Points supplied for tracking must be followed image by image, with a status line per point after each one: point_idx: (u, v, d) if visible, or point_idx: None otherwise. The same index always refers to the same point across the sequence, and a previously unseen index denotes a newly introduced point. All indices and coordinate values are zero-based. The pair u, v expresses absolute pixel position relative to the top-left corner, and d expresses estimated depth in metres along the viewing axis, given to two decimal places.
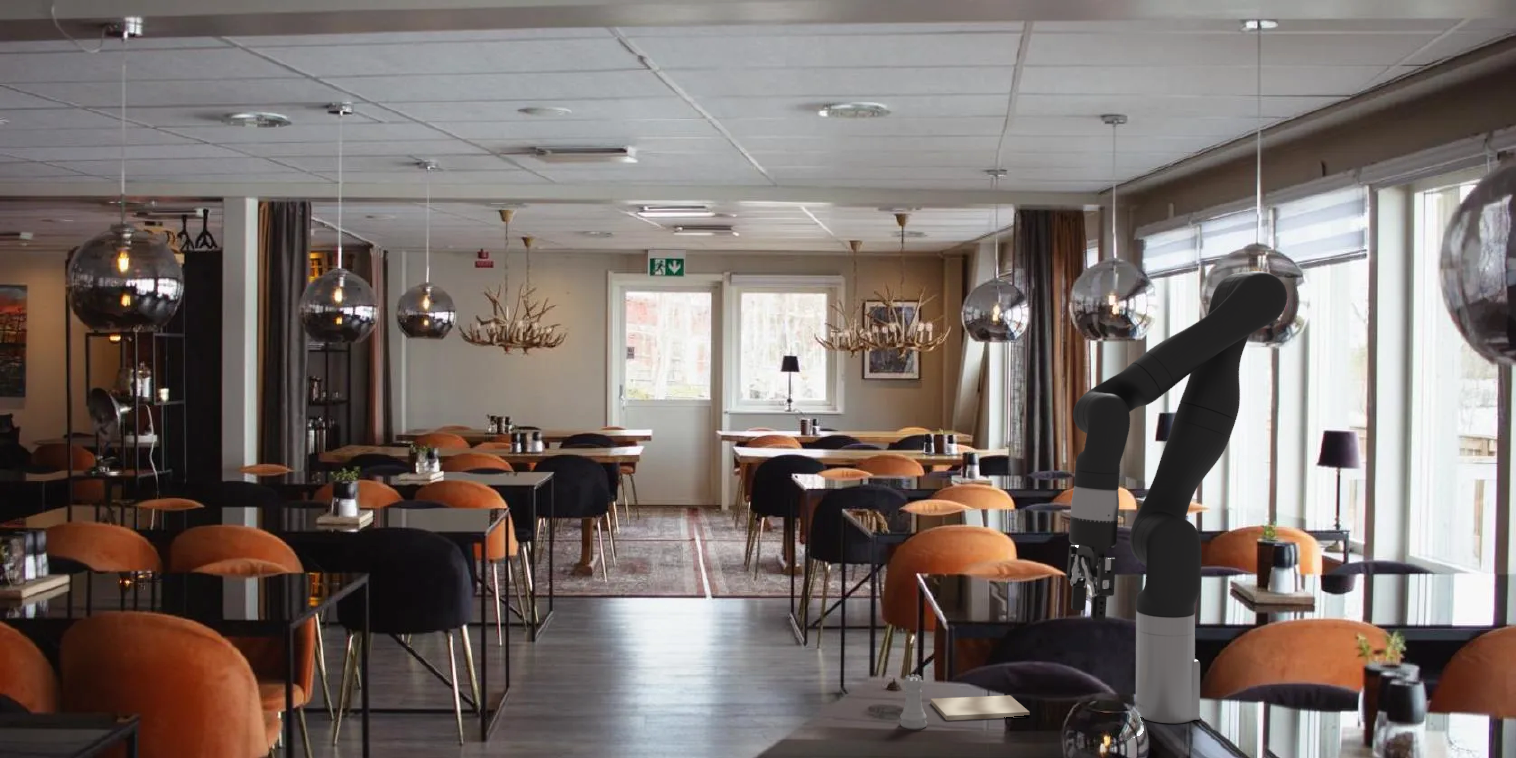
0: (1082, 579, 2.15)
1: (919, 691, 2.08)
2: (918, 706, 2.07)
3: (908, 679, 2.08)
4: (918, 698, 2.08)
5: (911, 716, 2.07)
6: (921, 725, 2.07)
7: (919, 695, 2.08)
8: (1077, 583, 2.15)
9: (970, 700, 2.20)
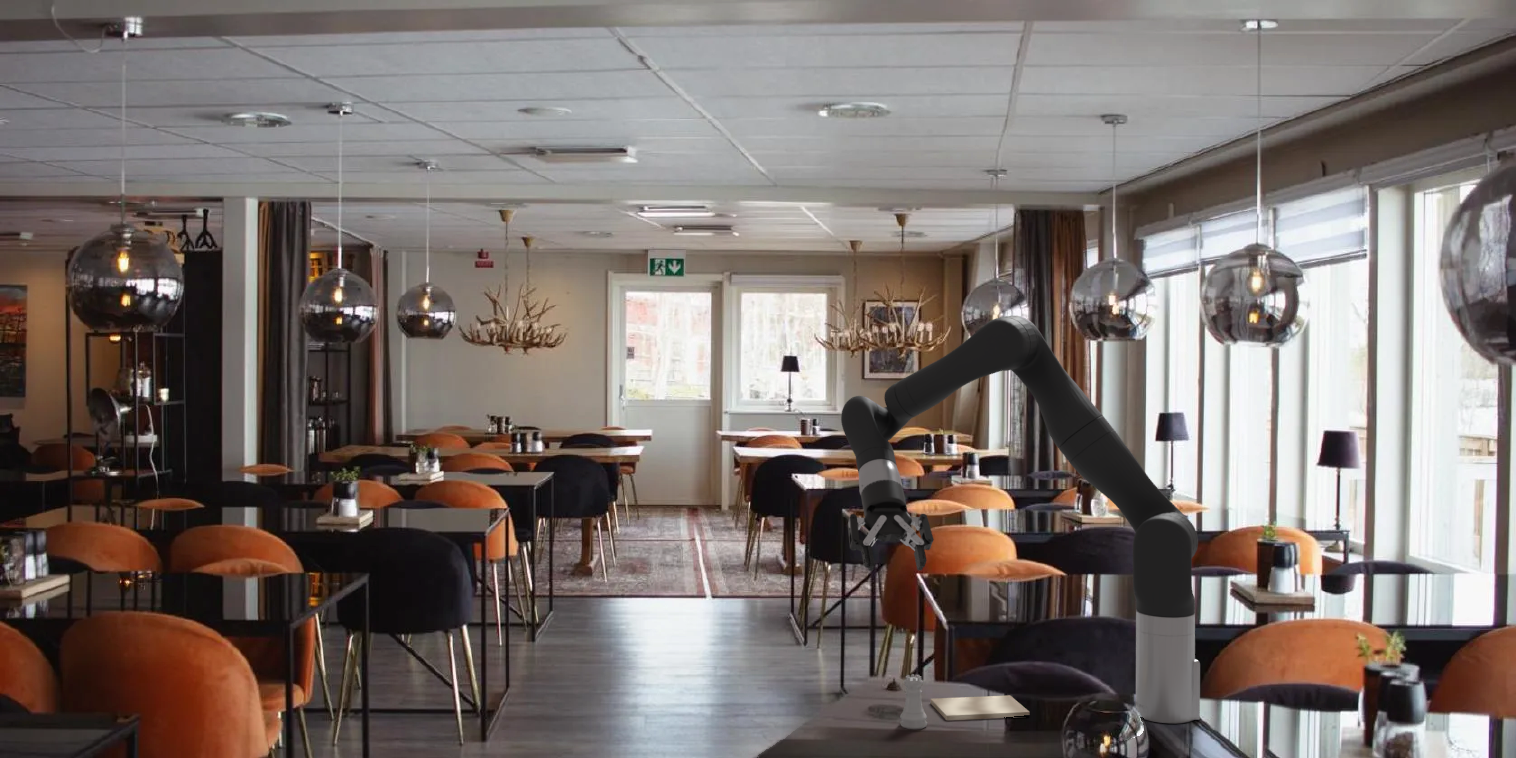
0: None
1: (919, 691, 2.08)
2: (918, 706, 2.07)
3: (908, 679, 2.08)
4: (918, 698, 2.08)
5: (911, 716, 2.07)
6: (921, 725, 2.07)
7: (919, 695, 2.08)
8: (915, 547, 2.23)
9: (970, 700, 2.20)
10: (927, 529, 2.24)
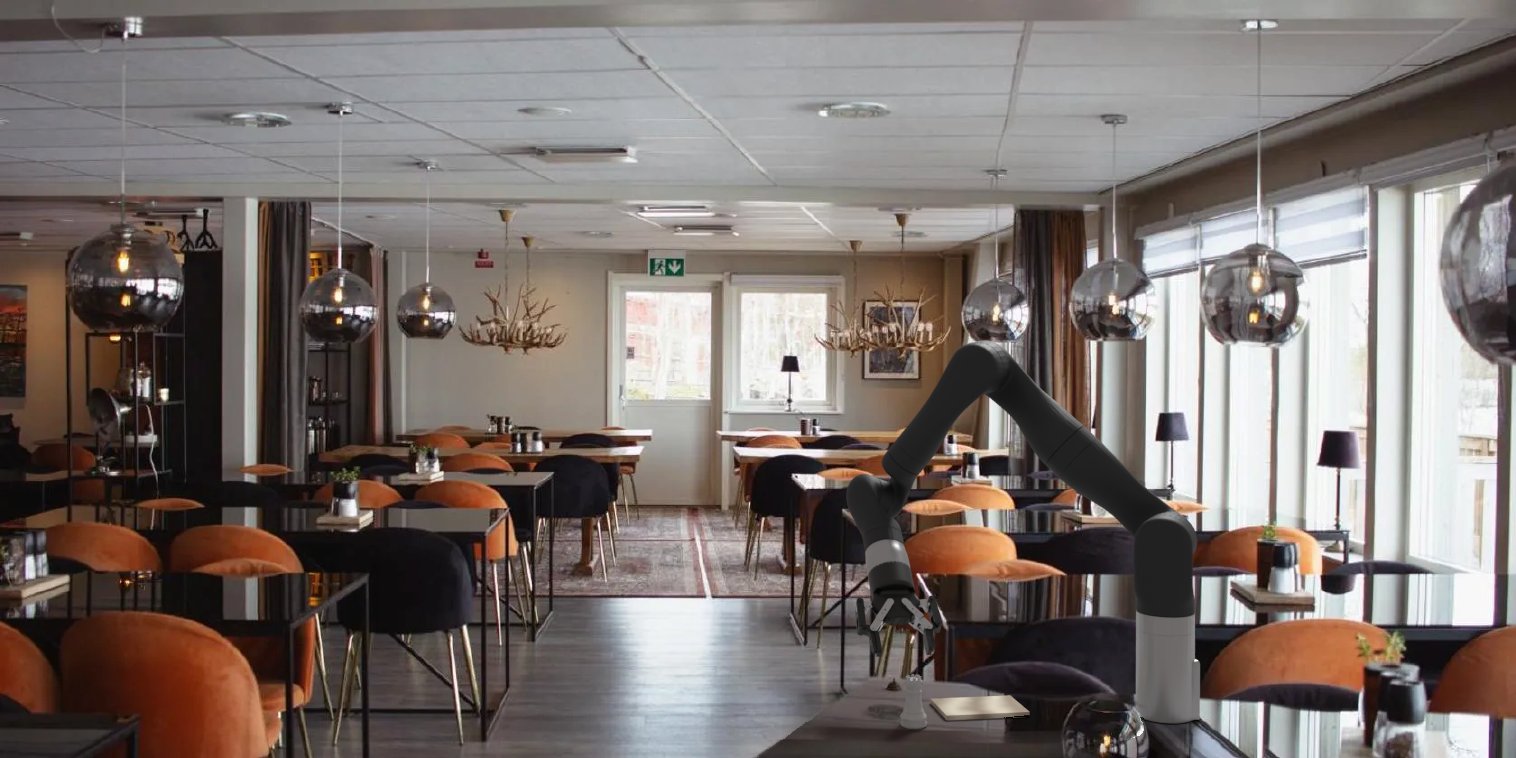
0: None
1: (919, 691, 2.08)
2: (918, 706, 2.07)
3: (908, 679, 2.08)
4: (918, 698, 2.08)
5: (911, 716, 2.07)
6: (921, 725, 2.07)
7: (919, 695, 2.08)
8: (923, 631, 2.18)
9: (970, 700, 2.20)
10: (936, 612, 2.19)
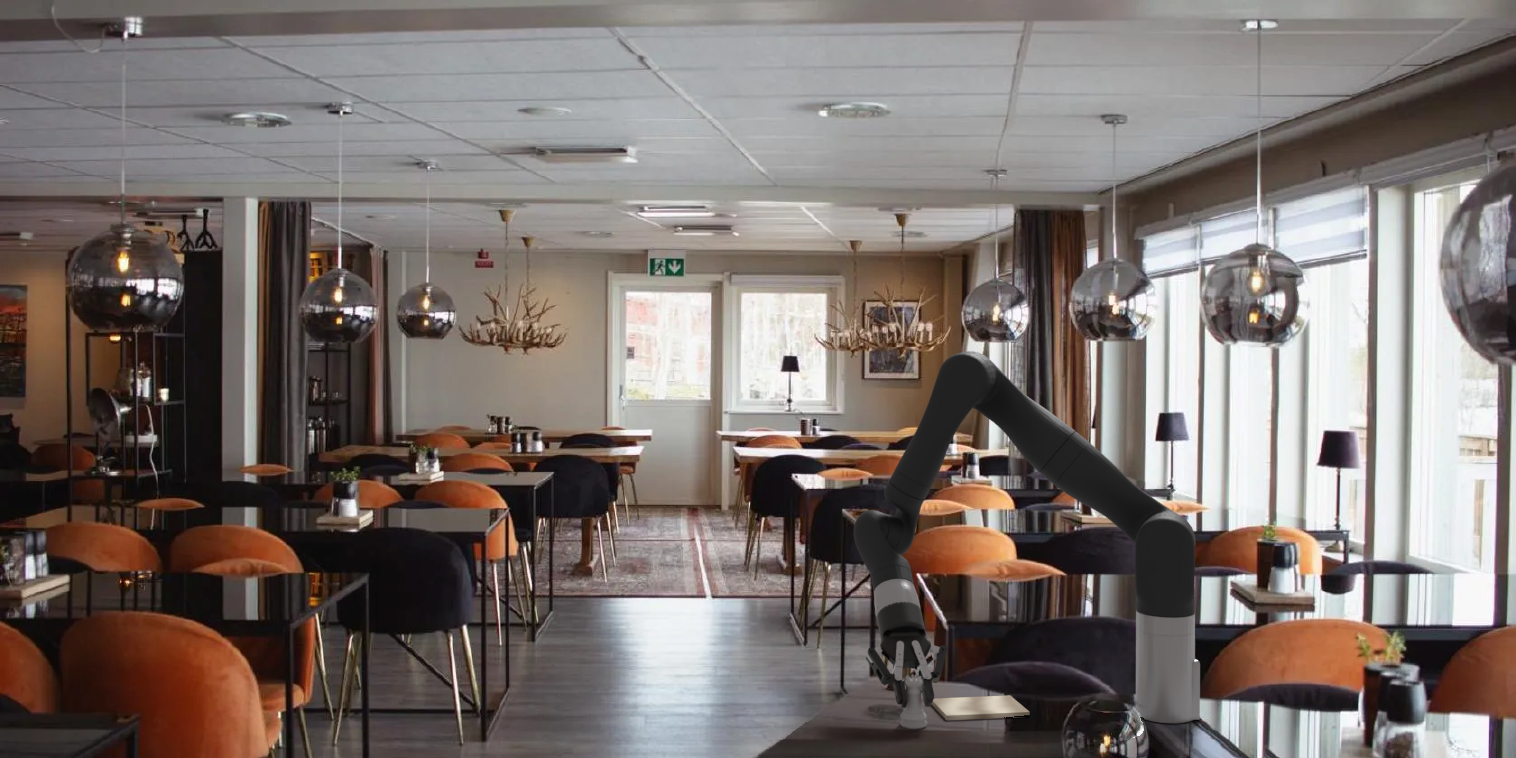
0: None
1: (919, 691, 2.08)
2: (918, 705, 2.07)
3: (908, 679, 2.08)
4: (918, 698, 2.08)
5: (911, 716, 2.07)
6: (921, 725, 2.07)
7: (919, 695, 2.08)
8: None
9: (970, 700, 2.20)
10: (940, 662, 2.11)
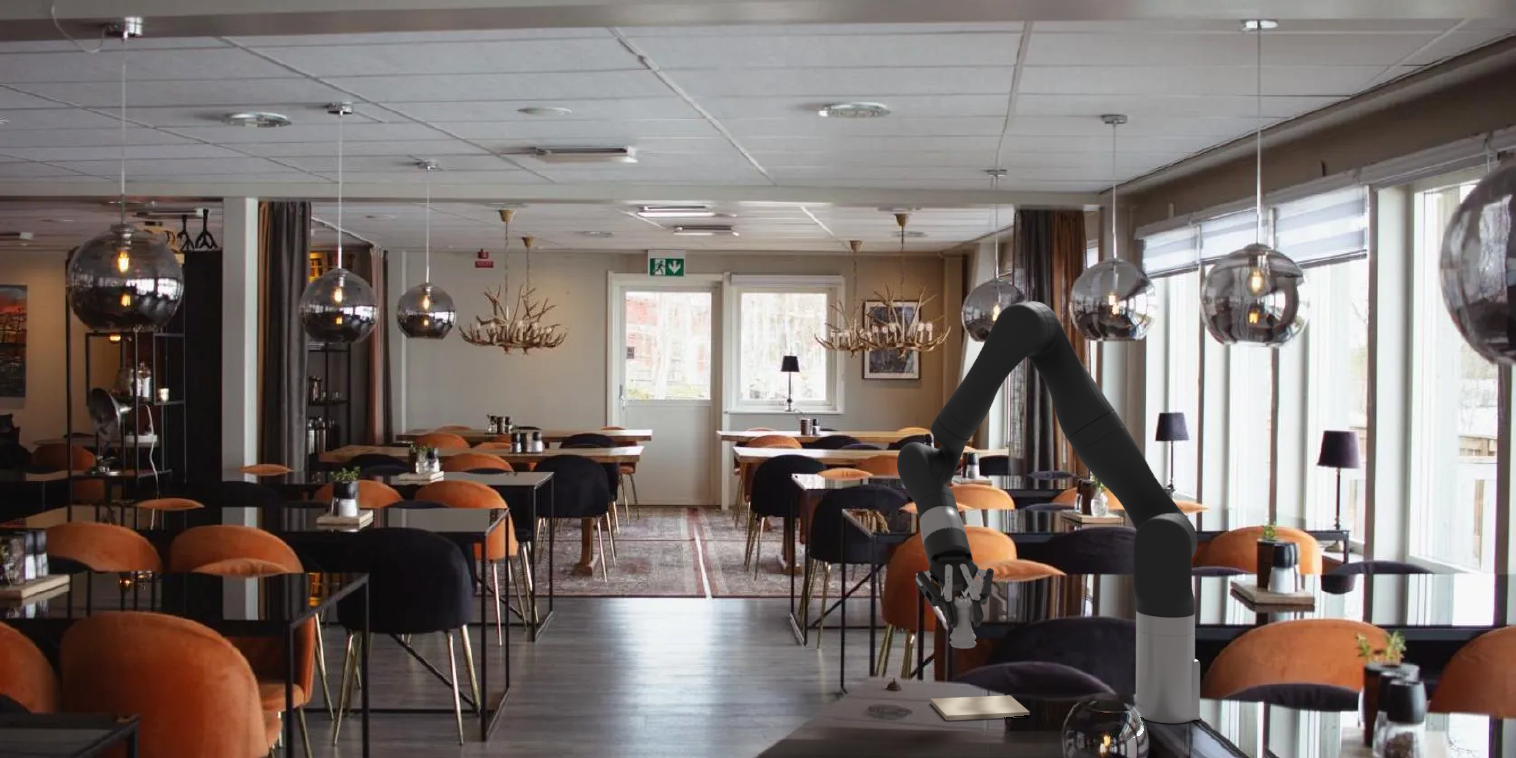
0: None
1: (968, 611, 2.13)
2: (967, 625, 2.13)
3: (958, 600, 2.13)
4: (968, 618, 2.13)
5: (961, 636, 2.12)
6: (971, 644, 2.12)
7: (968, 615, 2.13)
8: None
9: (970, 700, 2.20)
10: (988, 584, 2.16)
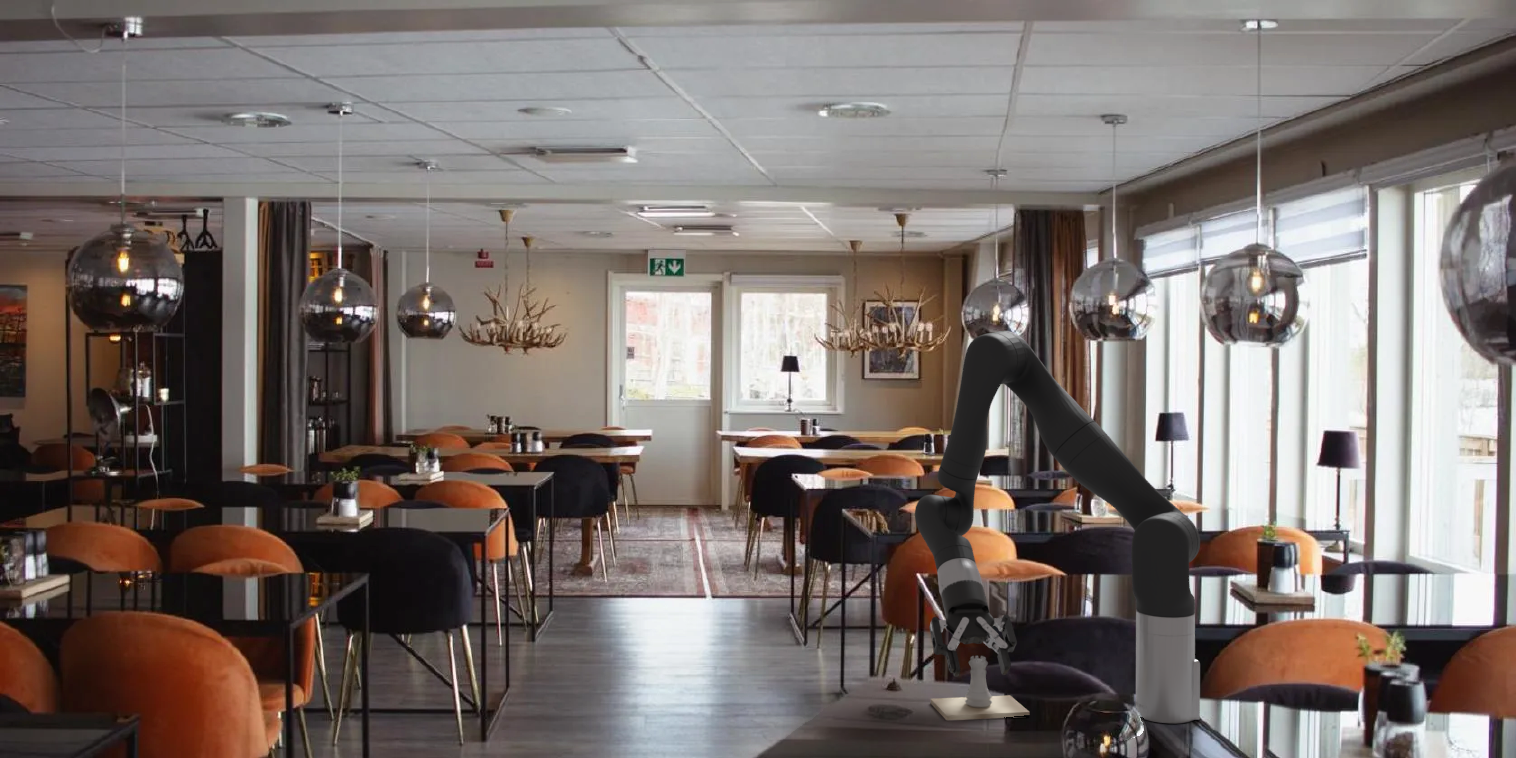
0: None
1: (984, 671, 2.16)
2: (983, 685, 2.16)
3: (973, 660, 2.16)
4: (983, 678, 2.16)
5: (976, 695, 2.16)
6: (986, 703, 2.16)
7: (984, 675, 2.16)
8: (998, 650, 2.20)
9: None
10: (1010, 631, 2.20)
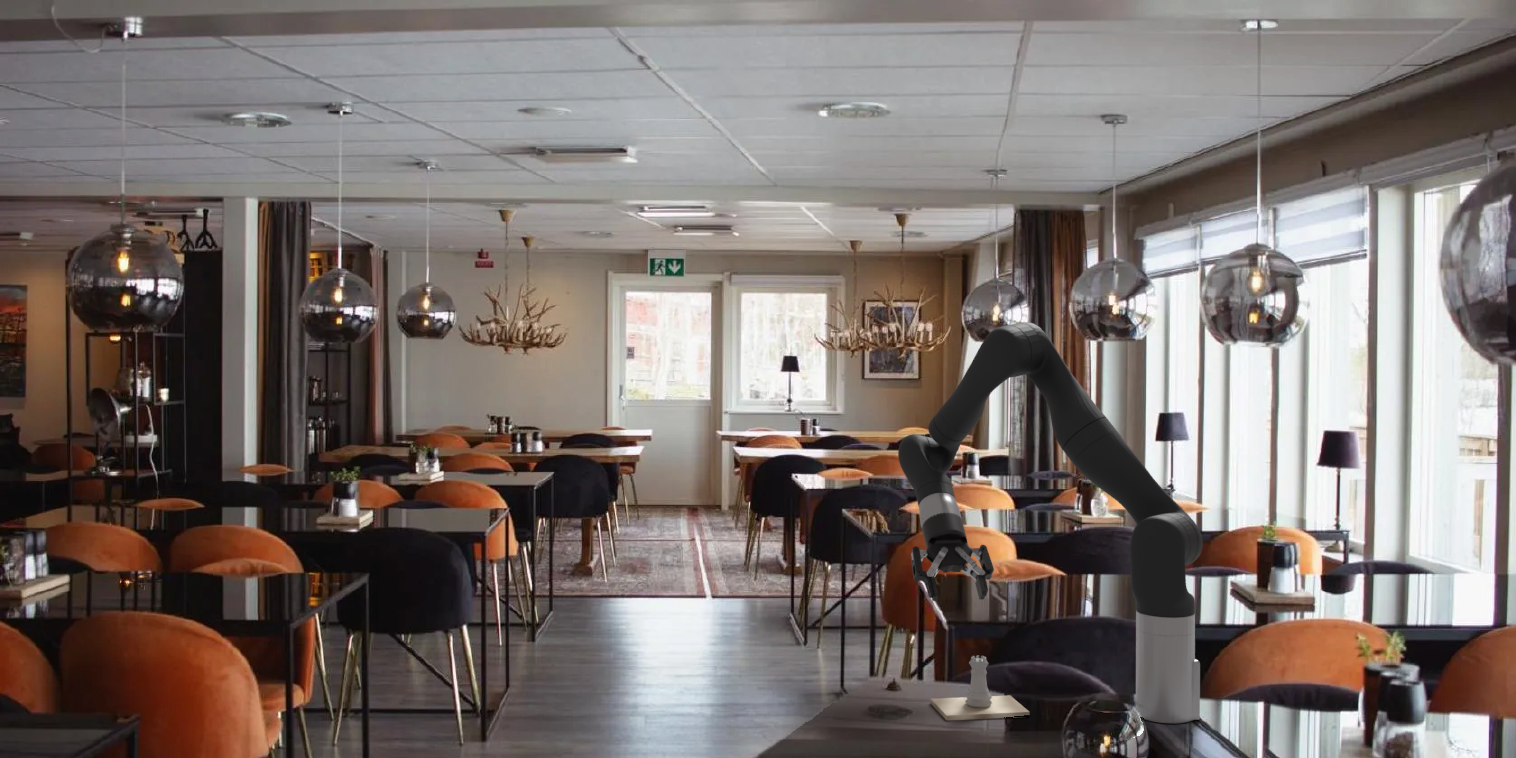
0: None
1: (984, 671, 2.17)
2: (983, 685, 2.16)
3: (974, 660, 2.16)
4: (984, 678, 2.16)
5: (976, 695, 2.16)
6: (986, 704, 2.16)
7: (984, 675, 2.17)
8: (976, 577, 2.32)
9: None
10: (988, 560, 2.33)
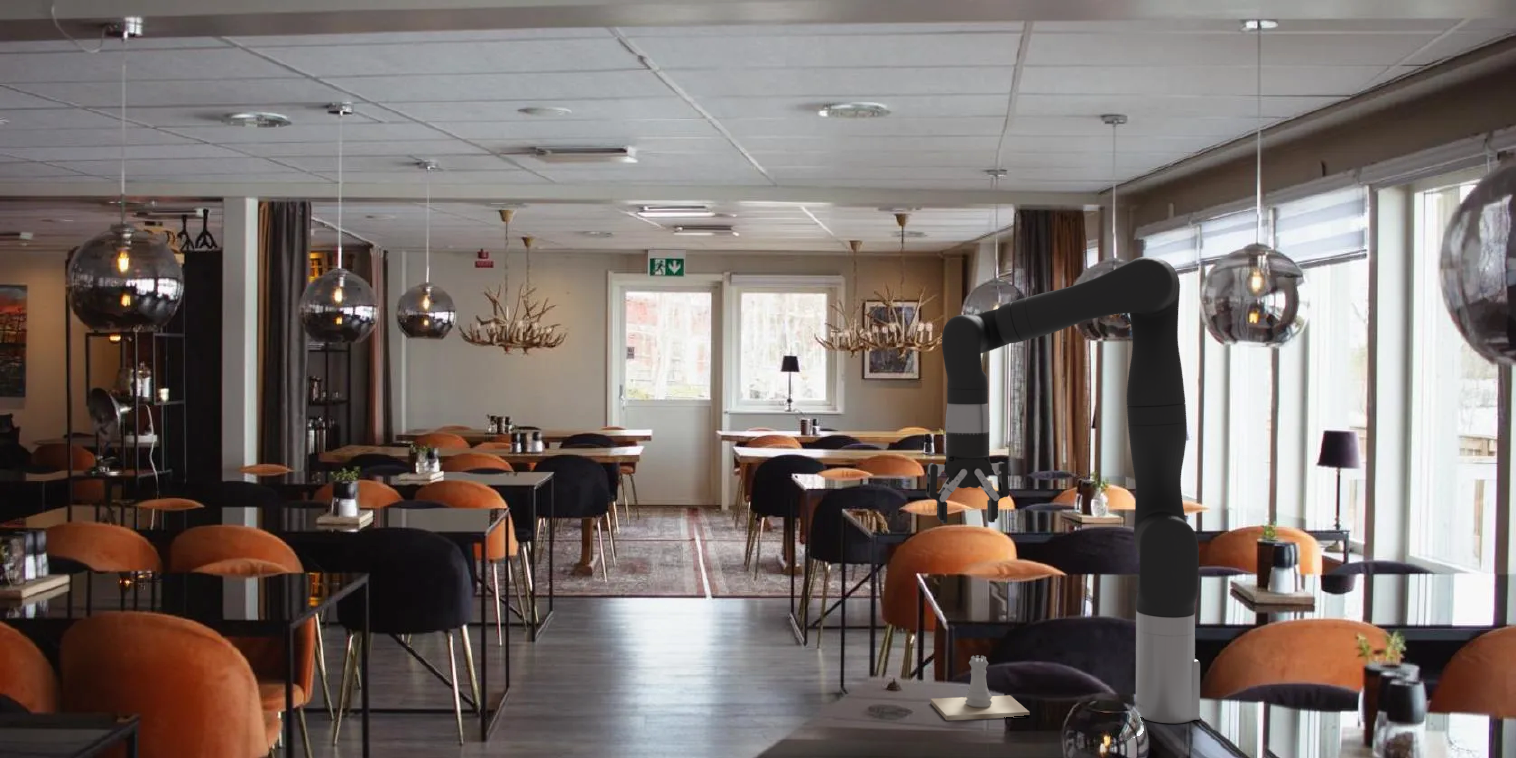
0: None
1: (984, 671, 2.17)
2: (983, 685, 2.16)
3: (974, 660, 2.16)
4: (983, 678, 2.16)
5: (976, 695, 2.16)
6: (986, 703, 2.16)
7: (984, 675, 2.17)
8: (989, 496, 2.27)
9: None
10: (1005, 482, 2.26)
